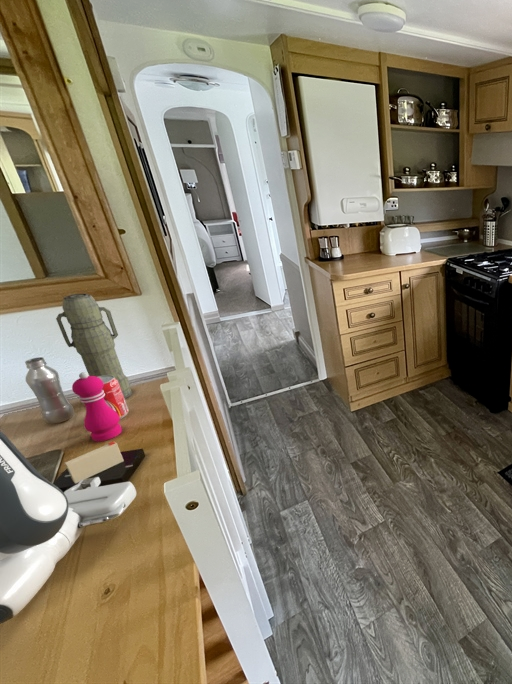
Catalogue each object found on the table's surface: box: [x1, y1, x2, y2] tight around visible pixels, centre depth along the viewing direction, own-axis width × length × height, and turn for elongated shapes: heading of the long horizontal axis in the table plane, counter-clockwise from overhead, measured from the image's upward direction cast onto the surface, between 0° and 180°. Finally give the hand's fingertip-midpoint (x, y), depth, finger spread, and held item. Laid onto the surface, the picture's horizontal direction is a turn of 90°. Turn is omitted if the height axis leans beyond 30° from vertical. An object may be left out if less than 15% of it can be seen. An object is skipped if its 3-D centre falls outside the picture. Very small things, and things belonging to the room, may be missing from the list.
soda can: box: [98, 375, 130, 420], centre depth 112 cm, size 7×7×13 cm
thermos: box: [55, 293, 133, 400], centre depth 119 cm, size 9×12×35 cm
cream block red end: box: [64, 440, 124, 484], centre depth 89 cm, size 9×1×6 cm, turn 149°
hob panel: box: [52, 448, 146, 493], centre depth 91 cm, size 15×14×3 cm
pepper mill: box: [71, 371, 123, 442], centre depth 103 cm, size 7×7×20 cm
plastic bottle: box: [24, 357, 75, 424], centre depth 109 cm, size 6×7×20 cm
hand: (91, 480), depth 82 cm, fingers closed
